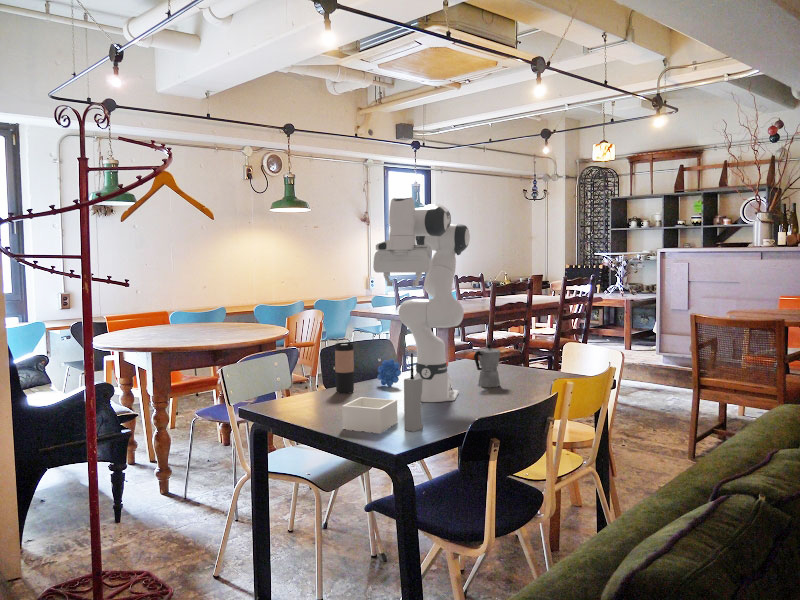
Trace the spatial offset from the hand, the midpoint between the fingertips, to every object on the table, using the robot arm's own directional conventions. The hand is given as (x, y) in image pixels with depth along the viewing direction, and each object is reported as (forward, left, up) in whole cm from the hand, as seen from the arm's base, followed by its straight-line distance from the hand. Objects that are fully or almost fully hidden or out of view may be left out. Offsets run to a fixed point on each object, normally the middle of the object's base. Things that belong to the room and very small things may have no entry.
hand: (402, 286), depth 218 cm
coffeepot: (-65, +11, -46) cm, 81 cm away
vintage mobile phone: (+10, +7, -46) cm, 48 cm away
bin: (+11, -8, -46) cm, 48 cm away
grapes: (-51, -28, -46) cm, 74 cm away
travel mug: (-34, -41, -46) cm, 70 cm away
